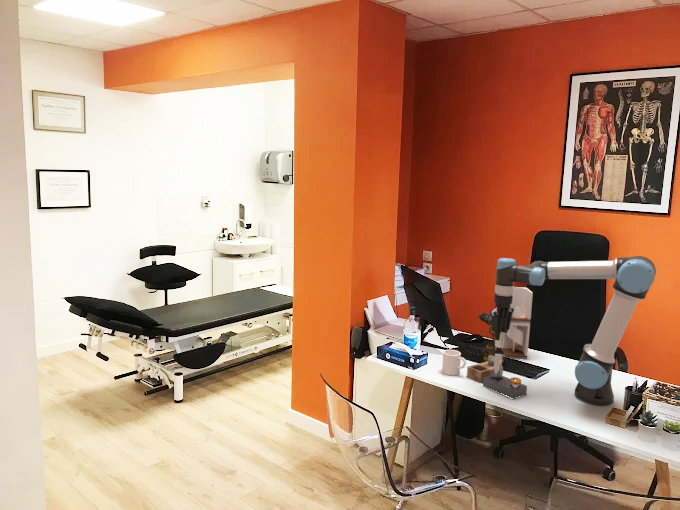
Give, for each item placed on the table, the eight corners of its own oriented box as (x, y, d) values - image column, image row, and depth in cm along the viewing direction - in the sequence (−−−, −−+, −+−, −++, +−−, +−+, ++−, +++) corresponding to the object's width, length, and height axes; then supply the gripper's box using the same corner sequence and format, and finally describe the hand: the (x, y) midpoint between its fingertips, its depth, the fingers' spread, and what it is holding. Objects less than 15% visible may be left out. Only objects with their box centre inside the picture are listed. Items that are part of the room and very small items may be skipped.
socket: (526, 394, 230) (527, 386, 229) (512, 399, 225) (513, 390, 224) (496, 381, 243) (497, 373, 242) (483, 386, 238) (483, 377, 237)
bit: (501, 387, 237) (504, 354, 235) (496, 388, 235) (499, 356, 233) (495, 384, 240) (498, 352, 237) (490, 386, 238) (493, 353, 235)
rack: (502, 376, 249) (503, 358, 248) (480, 383, 241) (481, 363, 240) (488, 370, 256) (490, 352, 254) (466, 377, 248) (468, 358, 246)
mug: (460, 379, 245) (461, 359, 243) (438, 372, 253) (439, 352, 251) (470, 375, 250) (471, 355, 248) (448, 367, 259) (449, 348, 257)
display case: (500, 351, 284) (505, 286, 278) (520, 352, 283) (526, 287, 277) (505, 358, 273) (511, 291, 267) (527, 359, 272) (532, 292, 266)
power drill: (480, 354, 277) (483, 308, 273) (508, 367, 261) (512, 317, 257) (469, 357, 273) (472, 309, 269) (497, 369, 257) (501, 319, 253)
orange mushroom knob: (522, 393, 229) (523, 380, 228) (515, 395, 226) (516, 382, 225) (513, 389, 232) (515, 376, 231) (507, 392, 230) (508, 378, 229)
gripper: (507, 290, 237) (503, 341, 241) (485, 294, 229) (481, 346, 233) (521, 294, 231) (516, 346, 235) (499, 298, 223) (495, 352, 227)
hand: (499, 346), depth 234 cm, fingers closed
